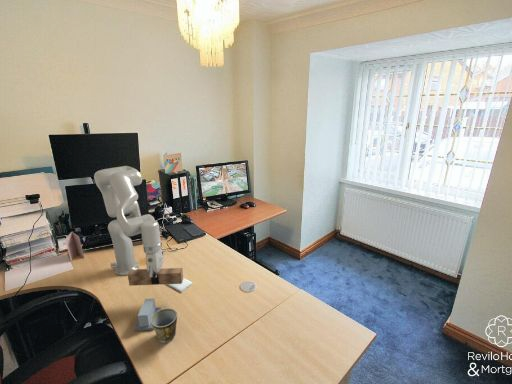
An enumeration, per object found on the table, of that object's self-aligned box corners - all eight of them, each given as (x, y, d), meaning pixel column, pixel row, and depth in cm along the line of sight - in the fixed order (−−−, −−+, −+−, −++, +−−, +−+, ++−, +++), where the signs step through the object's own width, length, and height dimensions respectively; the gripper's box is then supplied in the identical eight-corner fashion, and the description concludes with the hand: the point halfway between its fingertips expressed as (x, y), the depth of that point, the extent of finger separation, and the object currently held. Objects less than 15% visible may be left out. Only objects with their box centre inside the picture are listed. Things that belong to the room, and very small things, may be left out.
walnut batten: (129, 285, 123) (127, 274, 121) (132, 280, 127) (130, 269, 125) (181, 283, 125) (180, 273, 123) (183, 278, 129) (182, 267, 127)
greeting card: (75, 252, 171) (70, 231, 166) (88, 250, 173) (83, 230, 168) (69, 261, 161) (63, 240, 156) (83, 259, 163) (78, 238, 158)
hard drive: (165, 282, 141) (181, 290, 134) (177, 274, 147) (193, 282, 140) (165, 284, 141) (181, 293, 134) (177, 276, 148) (193, 284, 141)
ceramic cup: (152, 332, 111) (149, 313, 108) (176, 323, 115) (173, 304, 112) (157, 357, 100) (154, 336, 97) (183, 345, 105) (181, 325, 101)
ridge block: (134, 331, 111) (131, 317, 109) (143, 310, 123) (141, 297, 120) (153, 330, 112) (151, 316, 110) (161, 309, 123) (159, 296, 121)
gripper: (155, 256, 112) (160, 292, 118) (165, 237, 128) (169, 269, 134) (137, 257, 111) (143, 292, 117) (149, 237, 127) (153, 270, 133)
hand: (156, 280), depth 125 cm, fingers closed on walnut batten, 4 cm apart
